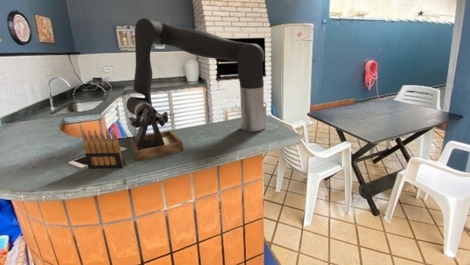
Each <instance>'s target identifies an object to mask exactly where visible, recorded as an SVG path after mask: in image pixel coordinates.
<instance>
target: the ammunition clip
mask: <svg viewBox="0 0 470 265" xmlns="http://www.w3.org/2000/svg"><path fill="white" fill-rule="evenodd" d="M81 136H82V141H83V148H84V151H85V153H84V156H86V161H87V166H86V167H87V169H88V170H115V169H116V170H118V169H119V170H120V169H124V168H125V166H126V163H125V162H126V161H125V158H124V155H123V151H122V150H121V149H120V147H121V146H120V141H119V139H118V135H117V133H116V130H114V129H112V131H111V133H110V131H109V130H108V129H106V130H105V134H104V132H103V130H102V129H100V130H99V134H98V131H97V130H96V129H94V131H93V133H92V131H91V130H90V129H88V132H87V133H86V131H85V130H84V129H83V130H82V131H81Z"/></svg>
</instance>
